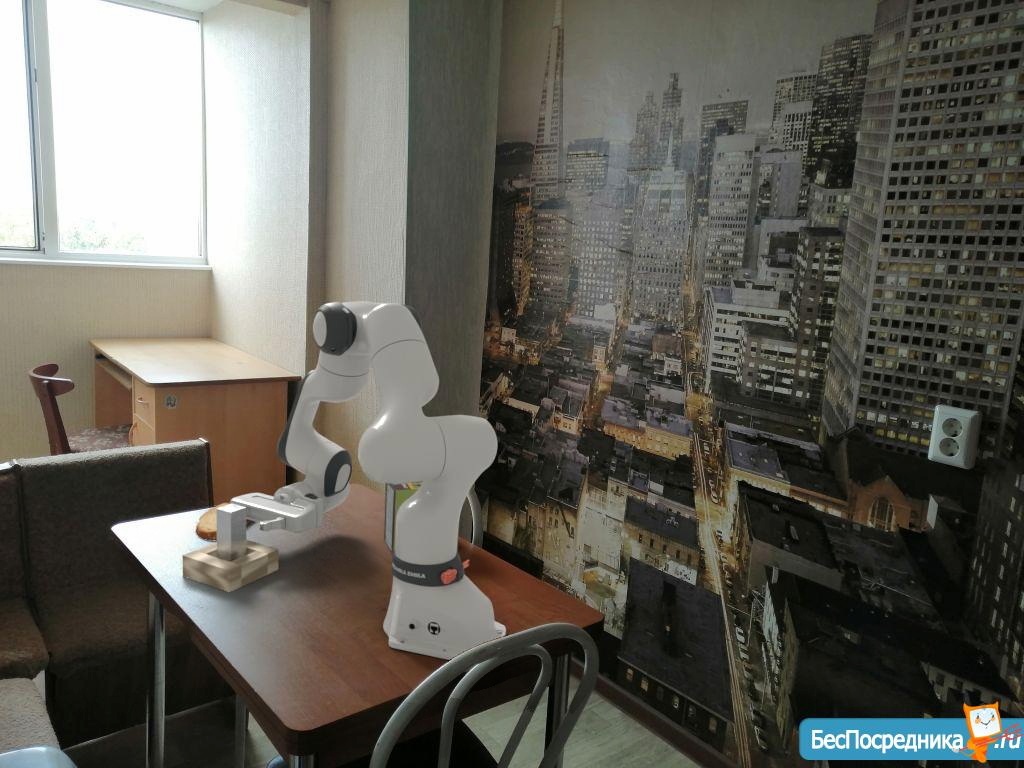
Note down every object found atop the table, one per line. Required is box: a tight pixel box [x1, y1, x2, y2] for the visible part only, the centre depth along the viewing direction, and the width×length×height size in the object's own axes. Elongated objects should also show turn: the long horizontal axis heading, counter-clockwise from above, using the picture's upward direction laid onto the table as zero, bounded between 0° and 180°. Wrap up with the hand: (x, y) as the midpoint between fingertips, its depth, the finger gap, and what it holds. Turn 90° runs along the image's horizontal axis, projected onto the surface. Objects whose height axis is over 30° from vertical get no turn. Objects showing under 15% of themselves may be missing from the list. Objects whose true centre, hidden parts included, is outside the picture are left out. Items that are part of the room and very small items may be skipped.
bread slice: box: [195, 502, 253, 541], centre depth 180 cm, size 18×18×4 cm
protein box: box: [383, 481, 460, 555], centre depth 173 cm, size 10×15×16 cm
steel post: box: [216, 504, 247, 562], centre depth 153 cm, size 4×4×14 cm
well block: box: [182, 539, 279, 593], centre depth 154 cm, size 13×13×4 cm
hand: (245, 522), depth 156 cm, fingers open, 8 cm apart
